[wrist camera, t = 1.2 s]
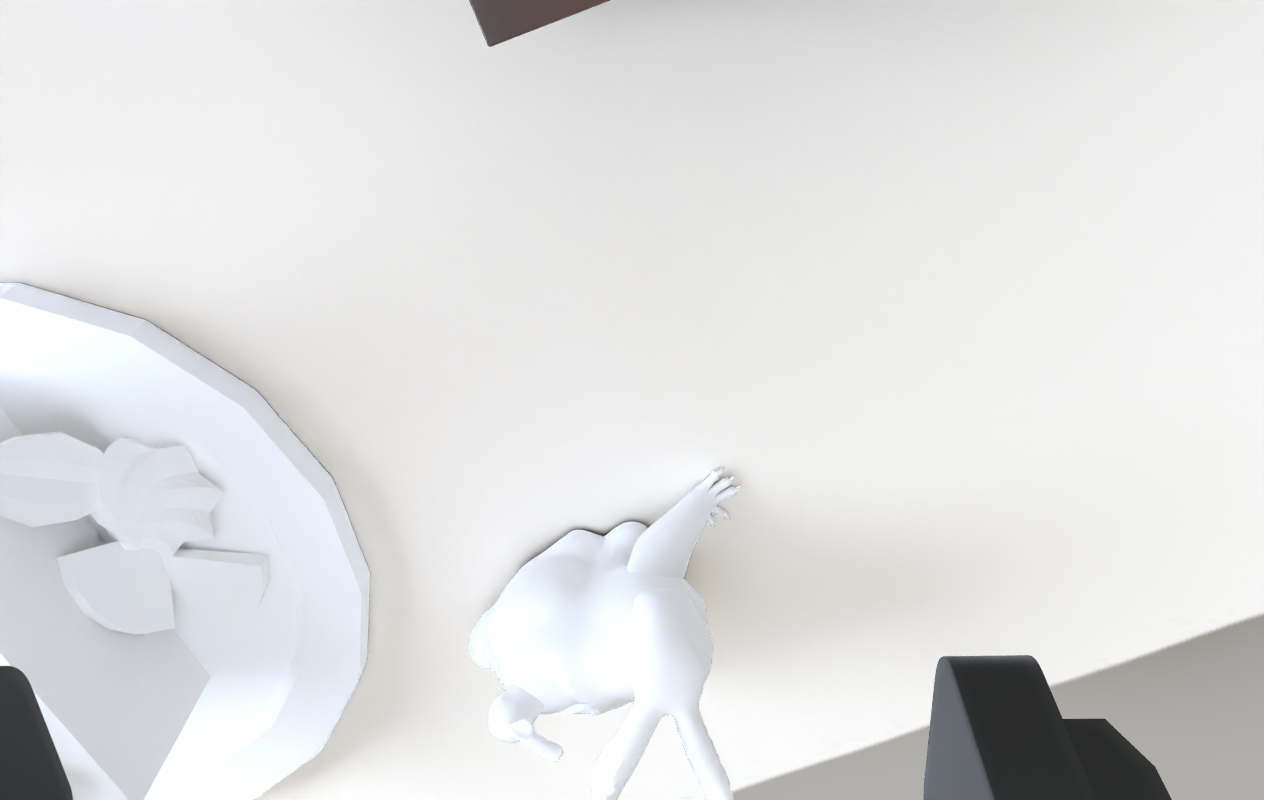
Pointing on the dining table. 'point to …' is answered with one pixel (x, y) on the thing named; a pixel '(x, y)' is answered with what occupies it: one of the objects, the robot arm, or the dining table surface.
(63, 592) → the dish
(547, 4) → the cabinet
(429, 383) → the dining table surface
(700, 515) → the rabbit figurine
